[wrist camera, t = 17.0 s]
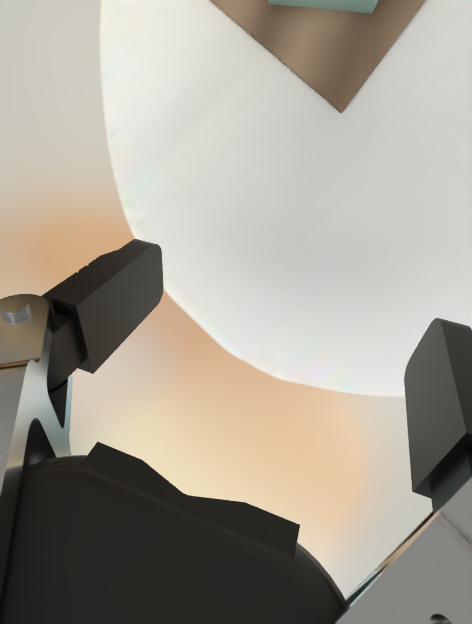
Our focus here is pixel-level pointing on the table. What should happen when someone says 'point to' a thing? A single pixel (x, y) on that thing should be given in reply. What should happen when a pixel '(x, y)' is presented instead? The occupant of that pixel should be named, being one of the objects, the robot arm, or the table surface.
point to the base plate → (324, 40)
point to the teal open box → (331, 4)
